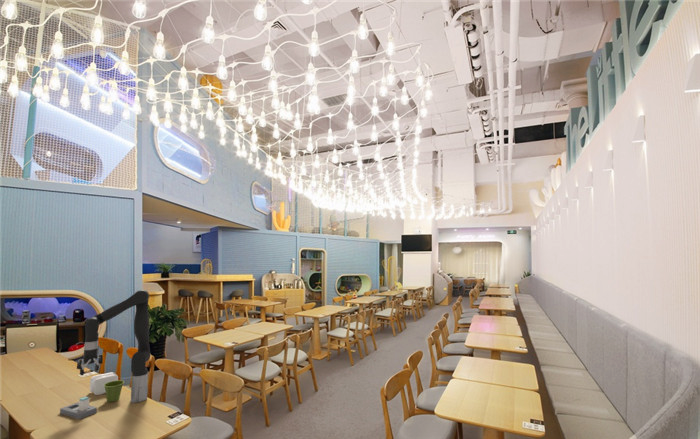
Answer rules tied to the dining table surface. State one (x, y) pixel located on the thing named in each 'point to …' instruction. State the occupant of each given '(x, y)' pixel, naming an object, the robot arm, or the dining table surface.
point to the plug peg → (83, 403)
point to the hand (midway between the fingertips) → (89, 373)
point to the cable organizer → (101, 382)
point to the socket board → (77, 411)
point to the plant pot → (113, 390)
